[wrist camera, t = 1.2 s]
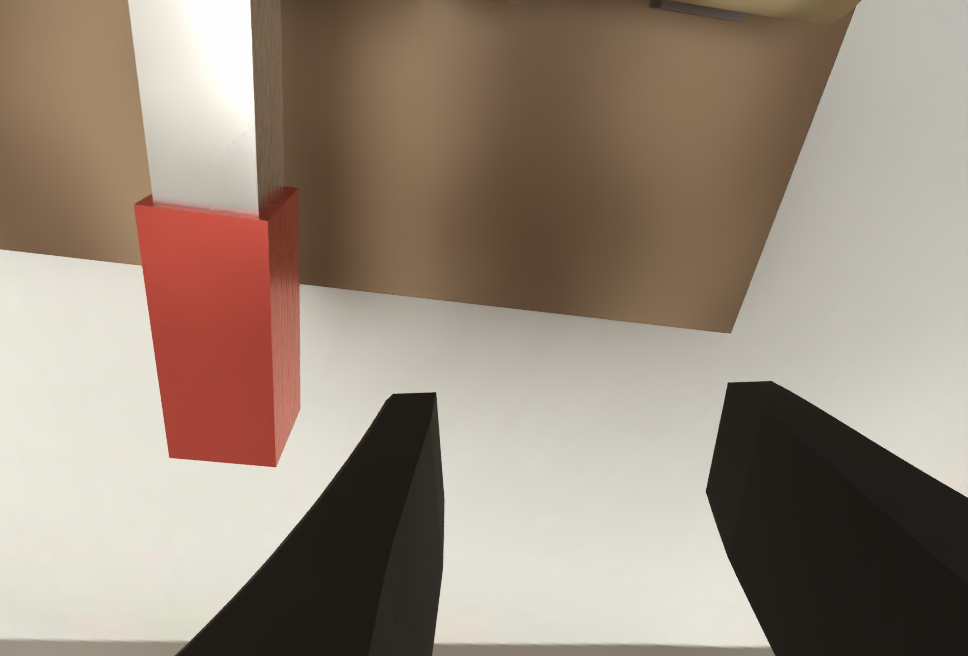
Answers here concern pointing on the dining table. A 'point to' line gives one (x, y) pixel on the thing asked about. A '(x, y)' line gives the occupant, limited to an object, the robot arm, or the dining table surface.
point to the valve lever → (219, 227)
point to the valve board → (461, 144)
